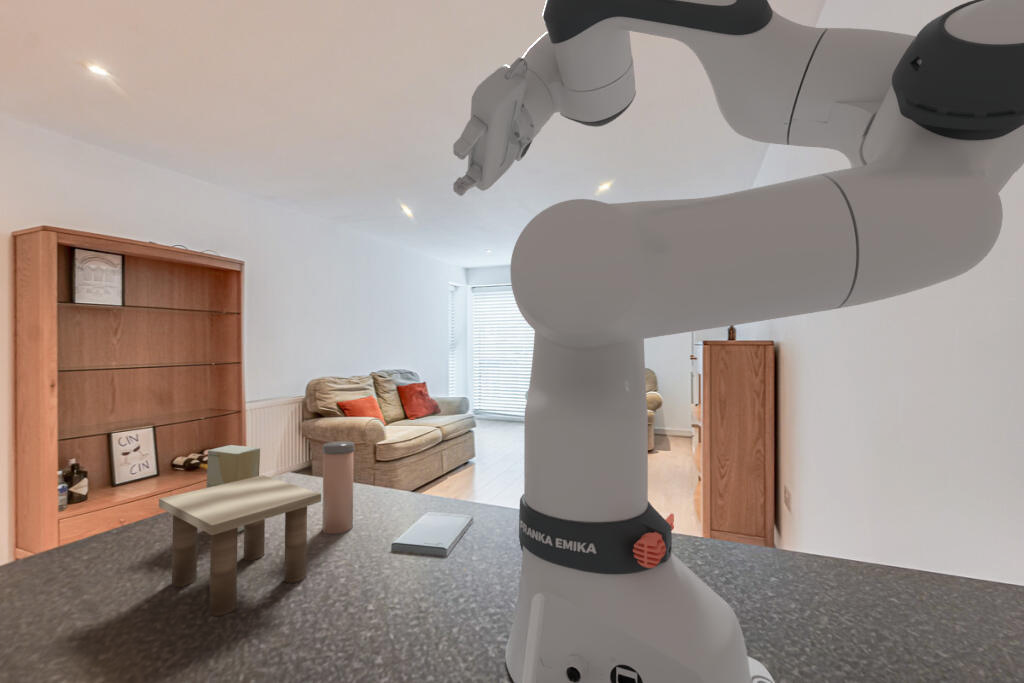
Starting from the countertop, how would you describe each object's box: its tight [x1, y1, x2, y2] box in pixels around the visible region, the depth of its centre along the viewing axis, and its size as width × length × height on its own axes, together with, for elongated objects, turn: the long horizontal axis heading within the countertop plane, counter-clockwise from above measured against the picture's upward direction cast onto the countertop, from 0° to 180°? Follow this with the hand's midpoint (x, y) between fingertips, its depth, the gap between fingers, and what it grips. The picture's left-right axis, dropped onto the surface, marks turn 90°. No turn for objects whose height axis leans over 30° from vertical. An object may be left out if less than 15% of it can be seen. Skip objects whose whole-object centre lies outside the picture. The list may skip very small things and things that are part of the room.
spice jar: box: [322, 440, 355, 535], centre depth 69 cm, size 5×5×13 cm
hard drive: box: [390, 511, 474, 557], centre depth 67 cm, size 2×8×12 cm
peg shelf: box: [158, 475, 322, 617], centre depth 54 cm, size 14×12×10 cm
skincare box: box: [205, 444, 261, 534], centre depth 70 cm, size 6×4×12 cm
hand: (456, 173), depth 62 cm, fingers open, 8 cm apart
